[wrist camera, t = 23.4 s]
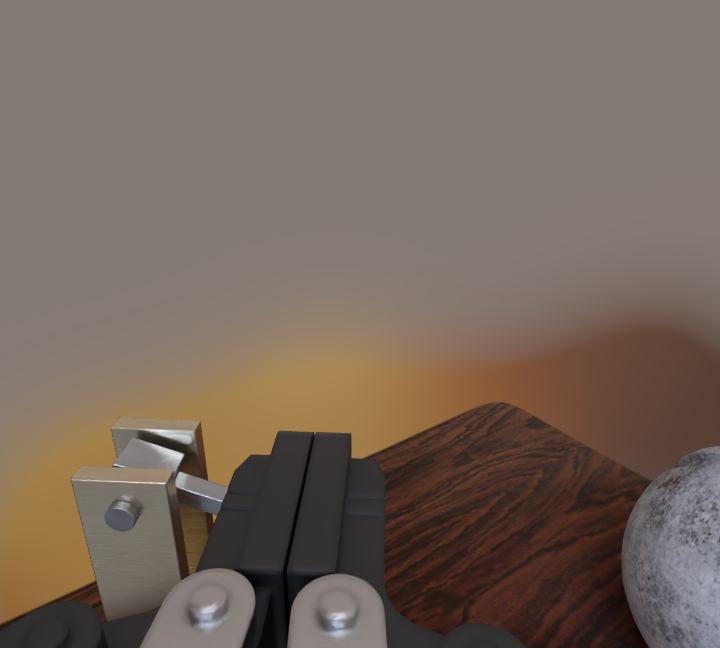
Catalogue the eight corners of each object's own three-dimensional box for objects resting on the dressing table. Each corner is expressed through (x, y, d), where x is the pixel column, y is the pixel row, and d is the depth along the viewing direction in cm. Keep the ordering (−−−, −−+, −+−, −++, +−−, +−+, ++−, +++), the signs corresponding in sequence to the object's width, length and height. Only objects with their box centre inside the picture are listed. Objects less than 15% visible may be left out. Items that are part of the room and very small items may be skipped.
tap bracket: (256, 621, 36) (236, 415, 30) (232, 718, 31) (202, 492, 24) (135, 615, 37) (90, 410, 30) (90, 710, 31) (23, 485, 25)
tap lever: (359, 484, 35) (372, 456, 34) (345, 670, 24) (364, 635, 23) (159, 419, 34) (167, 387, 33) (48, 584, 23) (55, 543, 22)
